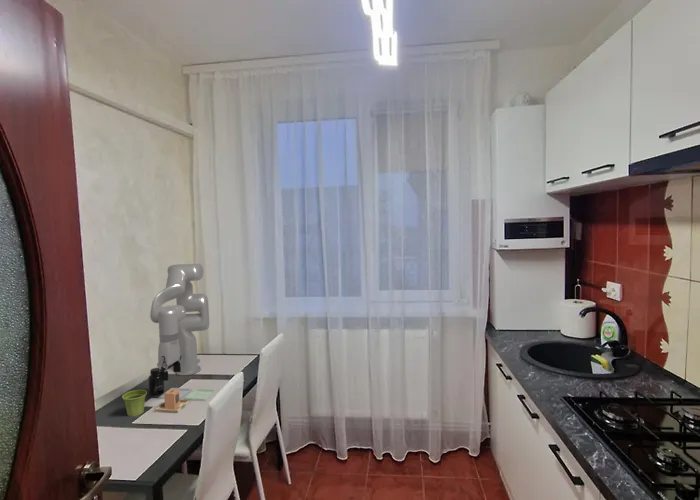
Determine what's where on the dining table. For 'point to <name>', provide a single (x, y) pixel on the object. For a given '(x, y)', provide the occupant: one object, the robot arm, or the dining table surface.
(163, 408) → the tray birch
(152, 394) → the supplement bottle
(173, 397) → the letter block
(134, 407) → the plant pot
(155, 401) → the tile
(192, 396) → the tray green
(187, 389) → the tray grey
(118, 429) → the dining table surface
